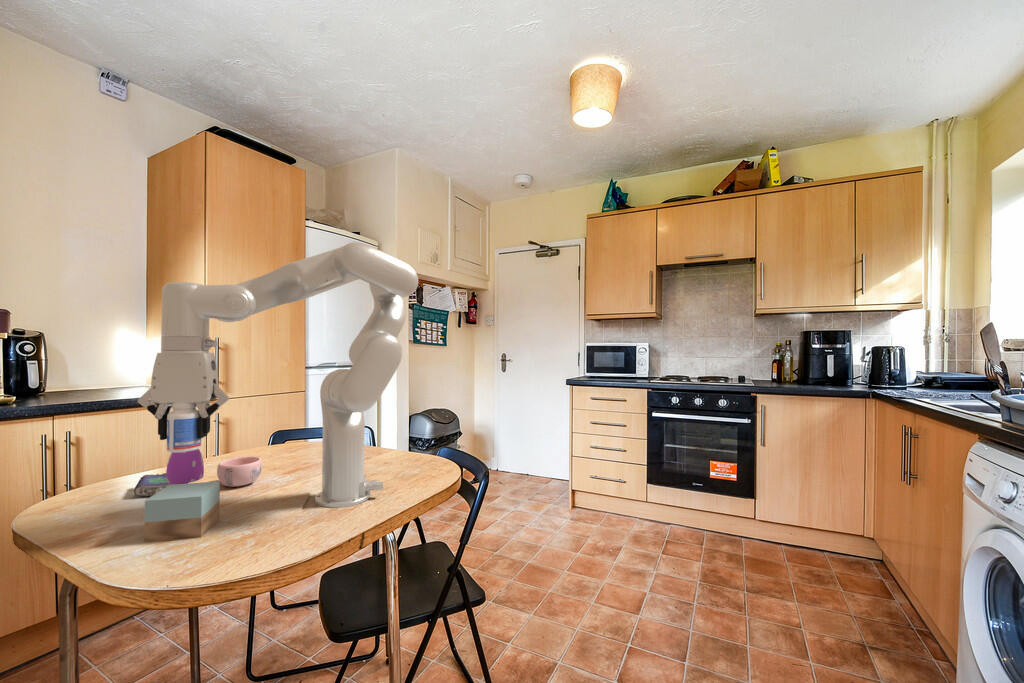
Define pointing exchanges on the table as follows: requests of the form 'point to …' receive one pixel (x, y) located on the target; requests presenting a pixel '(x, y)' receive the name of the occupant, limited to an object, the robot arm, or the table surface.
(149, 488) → the flask
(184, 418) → the pill bottle
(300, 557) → the table surface
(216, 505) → the tower base
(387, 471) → the table surface
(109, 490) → the table surface
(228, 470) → the pink bowl
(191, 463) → the toy
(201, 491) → the tower top
